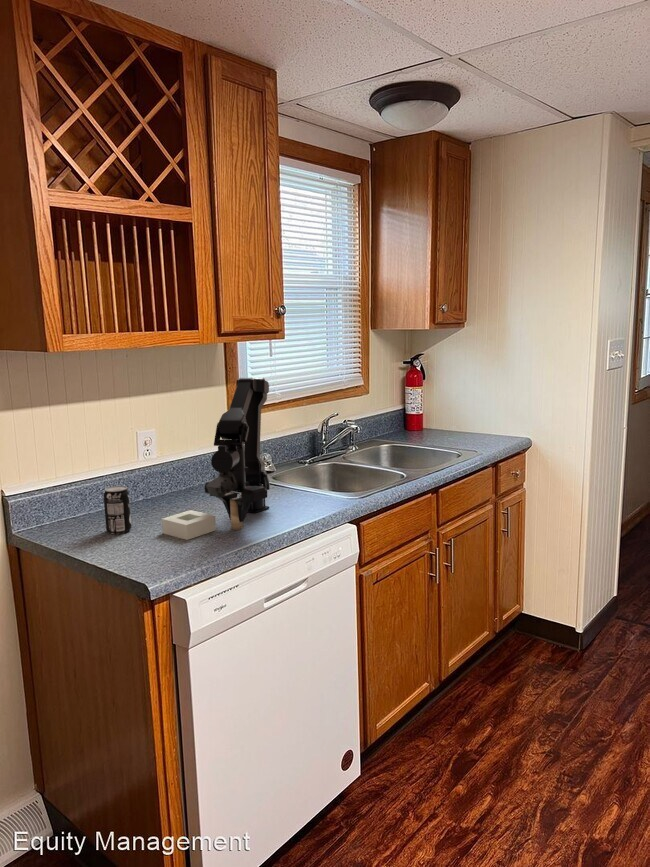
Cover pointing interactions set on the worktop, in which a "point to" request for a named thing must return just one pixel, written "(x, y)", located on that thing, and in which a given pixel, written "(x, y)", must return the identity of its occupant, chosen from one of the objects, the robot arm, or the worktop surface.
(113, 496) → the beverage can
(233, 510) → the peg
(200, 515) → the socket
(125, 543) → the worktop surface
